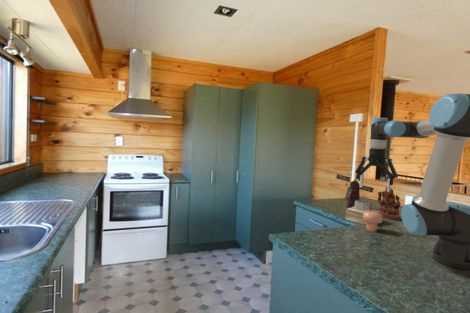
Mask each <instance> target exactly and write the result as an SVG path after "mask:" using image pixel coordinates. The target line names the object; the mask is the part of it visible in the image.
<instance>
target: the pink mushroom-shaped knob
mask: <svg viewBox="0 0 470 313" xmlns="http://www.w3.org/2000/svg"><path fill="white" fill-rule="evenodd" d="M382 215H383V214H382V213H379V212H374V211H364V212H363V220H364V221H366V222H367V224H366V229H365V230H366V231H368V232H374V233H375V232H377V231H378V224H382V223H383V216H382Z"/></svg>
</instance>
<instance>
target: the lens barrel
mask: <svg viewBox="0 0 470 313" xmlns="http://www.w3.org/2000/svg"><path fill="white" fill-rule="evenodd" d="M354 209H355V210H357V211H362V212H364V211H371V210H372V209H373V202H371V201H370V200H364V199H360V200H355V208H354Z"/></svg>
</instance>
